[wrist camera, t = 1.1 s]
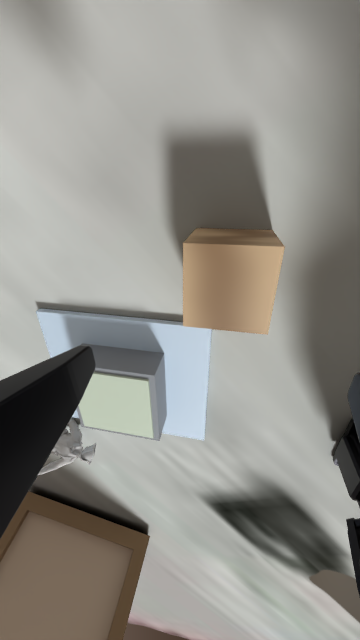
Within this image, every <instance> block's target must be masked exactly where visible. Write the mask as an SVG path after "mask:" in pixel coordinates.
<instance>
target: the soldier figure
mask: <svg viewBox="0 0 360 640" xmlns="http://www.w3.org/2000/svg"><path fill="white" fill-rule="evenodd" d="M68 425H69V426H70V433H68V430H67V429H66V428H65V429H64V431H63V433H62V434H61V436H60V438H59V440H58V441H57V443H56V445H55V446H54V448H53V450H52V452H51V453H53V454H55V455H59V456H60V457H61V458H60V459H58V460H56V461H53V462H51V463H49V464H48V465H46V466H44V467H43V468H42V469H41V470H40V472H39V474H38V475H42V474H45V473H47V472H50V471H53V470H56V469H58V468H60V467H61V466H64V465H67V464H69V463H72V462H73V461H74V459H75V457H76V458H78V457H79V458H80V459H81V461H86V462H87V463H88V464H90V463H91V460H92V458H93V456H94V453H95V447H96V443H95V444H94V445H92V446H89V447H88V446H87V447H86V448H85V449H84V450H83V451H82V449H83V447H82V442H81V438H82V434H81V431H80V429H79V428H78V425H77V423H76V421H75V420H74V419H73V418H72V417H71V419H70V421H69V423H68ZM79 455H80V456H79Z"/></svg>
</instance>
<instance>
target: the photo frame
mask: <svg viewBox="0 0 360 640" xmlns="http://www.w3.org/2000/svg"><path fill="white" fill-rule="evenodd" d="M149 538H150V536H148V535H145V534H143V533H140V532H137V531H135V530H132V529H129V528H126V527H124V526H121V525H118V524H116V523H113V522H110V521H107V520H105V519H102V518H99V517H97V516H94V515H91V514H88V513H86V512H83V511H80V510H78V509H75V508H72V507H70V506H67V505H64V504H61V503H59V502H56V501H53V500H51V499H48V498H45V497H42V496H40V495H37V494H34V493H32V492H29V491H28V493H27V494H26V496H25V498H24V499H23V501H22V503H21V505H20V506H19V508H18V510H17V511H16V513H15V515H14V517H13V518H12V520H11V522H10V523H9V525H8V527H7V529H6V530H5V532H4V534H3V535H2V537H1V539H0V640H123V637H124V633H125V629H126V625H127V622H128V618H129V614H130V610H131V606H132V602H133V599H134V595H135V591H136V587H137V583H138V580H139V576H140V572H141V568H142V564H143V561H144V557H145V553H146V549H147V545H148V542H149Z"/></svg>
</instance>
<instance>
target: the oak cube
mask: <svg viewBox="0 0 360 640" xmlns="http://www.w3.org/2000/svg"><path fill="white" fill-rule="evenodd" d="M284 248H285V246H284V245H283V244H282V242H281V241H280V240H279V238H278V237H277V235H276V234H275V233H274V231H273V230H254V229H216V228H196V229H195V230H194V231H193V232H192V234H191V235H190V236H189V237H188V238H187V239H186V240H185V241H184V243H183V326H185V327H196V328H206V329H216V330H227V331H237V332H247V333H258V334H268V330H269V325H270V320H271V315H272V310H273V305H274V300H275V294H276V289H277V284H278V279H279V274H280V269H281V264H282V258H283V253H284Z"/></svg>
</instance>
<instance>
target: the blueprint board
mask: <svg viewBox="0 0 360 640" xmlns="http://www.w3.org/2000/svg"><path fill="white" fill-rule="evenodd" d="M36 313H37V316H38V320H39V323H40V326H41V329H42V332H43V335H44V338H45V341H46V345H47V348H48V351H49V354H50V357H51V358H52V357H55V356H57V355H59V354H61V353H63V352H66V351H68V350H70V349H72V348H75V347H77V346H79V345H81V344H82V343H84V344H92V345H100V346H109V347H117V348H126V349H134V350H142V351H151V352H159V353H164V357H165V380H166V403H167V417H166V420H165V424H164V427H163V430H162V433H165V434H170V435H176V436H181V437H187V438H193V439H198V440H204V438H205V424H206V409H207V394H208V379H209V364H210V349H211V333H212V329H206V328H196V327H185V326H183V322H177V321H167V320H156V319H146V318H135V317H125V316H114V315H104V314H93V313H83V312H72V311H62V310H51V309H41V308H40V309H39V310H37V311H36ZM72 417H74V418H79V416H78V412H77V409H76V411H75V412H74V414H73V416H72Z"/></svg>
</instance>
